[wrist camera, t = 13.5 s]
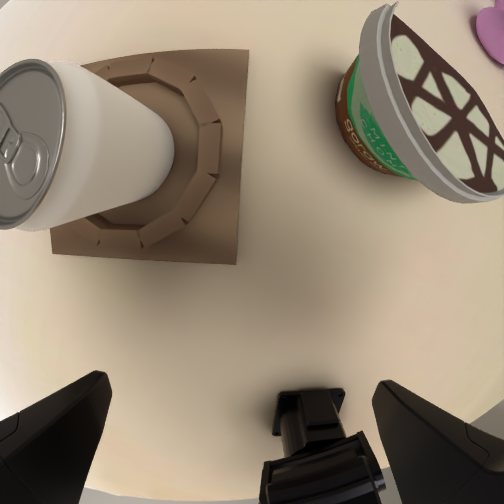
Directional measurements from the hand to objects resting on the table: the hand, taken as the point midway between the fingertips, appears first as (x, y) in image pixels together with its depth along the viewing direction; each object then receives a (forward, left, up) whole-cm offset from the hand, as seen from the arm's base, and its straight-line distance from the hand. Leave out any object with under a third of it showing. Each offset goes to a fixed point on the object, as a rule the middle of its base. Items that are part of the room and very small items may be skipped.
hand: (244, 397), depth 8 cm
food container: (+10, -9, -13) cm, 19 cm away
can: (+8, +8, -12) cm, 17 cm away
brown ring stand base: (+8, +8, -13) cm, 17 cm away
